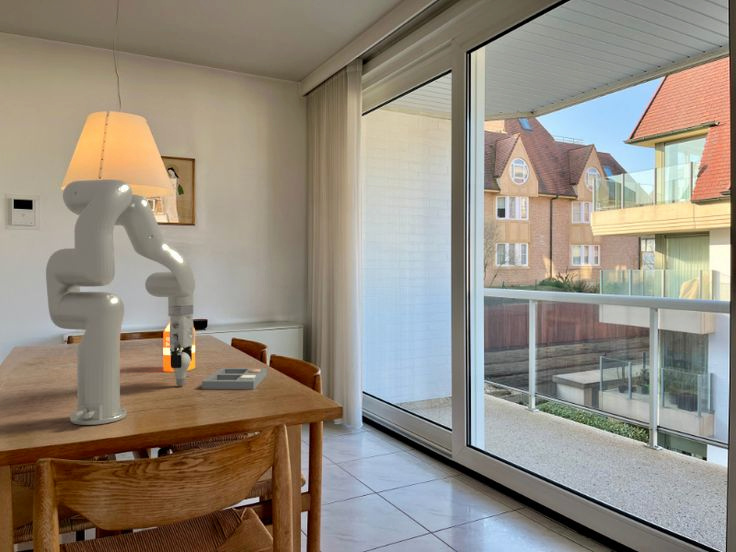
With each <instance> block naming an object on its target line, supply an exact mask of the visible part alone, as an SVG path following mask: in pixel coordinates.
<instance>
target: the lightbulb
mask: <svg viewBox="0 0 736 552" xmlns="http://www.w3.org/2000/svg"><path fill="white" fill-rule="evenodd" d="M180 355H182V367H181V368H173V370H174V372H173V373H174V376H175V377H174V378H175V379H176V381H175V383H176V385H177V386H178V387H183V386H184V385H185V384H186V383H185V382H186V378H187V371H188V370H187V369H188V368H189V366H190V363H191V359H190V356H189V355H188V354H187V353H185V352H181V353H180ZM170 363H171V361H170Z"/></svg>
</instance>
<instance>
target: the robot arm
mask: <svg viewBox="0 0 736 552" xmlns="http://www.w3.org/2000/svg"><path fill="white" fill-rule="evenodd" d="M62 200H63V202H64V205H65V206H66V207H67V209H68V211H70V212H72V213H73V214H75V215H77V216H78V218H77V219H76V221H75V225H74V236H73V237H74V248H73V247H72V248H69V247H68V248H60V249H58V250H56V251H54V252H53V253H52V254H51V255H50V256H49V258H48V261H47V263H46V268H45V279H46V292H47V305H48V313H49V317H50V320H51V322H52V323H53V324H54V325H55V326H56V327H57V328H60V329H64V330H80V331H82V330H83V331H84V333H83V336H82V337H81V339H80V340H79V342H78V345H77V351H76V357H77V359H76V361H77V363H76V365H77V366H76V367H77V368H76V370H77V371H76V372H77V374H76V375H77V378H76V379H77V380H76V381H77V382H76V383H77V387H76V389H77V390H76V391H77V397H76V398H77V405H76V407H77V410H76V411H75V412H72V413H71V414H70V415H69V421H70V422H71V423H72V424H74V425H80V426H94V425H103V424H109V423H115V422H117V421H121V420H123V419H124V418H126V417H127V412H128V411H127V409H125V408H123V407H122V408H121V367H120V366H121V351H120V350H121V346H120V345H121V334H122V333H121V331H122V326H123V321H124V317H125V304H124V302H123V300H122V299H121V298H120V297H119V296H117V295H116V294H113V293H112V292H105V291H81V287H93V288H94V287H103V286H107V285H110V284H112V282H113V280H114V278H115V271H116V265H115V264H116V263H115V262H116V261H115V249H114V229H115V228H114V227H115V226H121V227H123V228H124V230H125V232H126V234H127V236H128V239H129V241H130V244H131V245H132V247H133V250H134V252H135V253H136V254H138V255H139V256H142V257H144V258H145V259H148V260H151V261H153V262H155V263H159V264H160V265H162V266H164V267H165V268H167V269H169V271H170V272H169V271H165V272H164V271H163V272H162V271H159V272H153V273H151V274H150V275H149V276H148V277H147V278H146V279H145V283H144V286H145V290H146V291H147V293H148V294H149V295H151V296H153V297H157V298H167V301H168V302H167V304H168V305H167V306H168V308H167V309H168V311H167V315H168V317H169V319H170V320H169V322H170V351H171V352H170V355H171V368H181V367H182V355H180V353H181V352H185V353H187V354H188V355H189V356H190V359H191V361H192V344H193V343H194V328H195V326H194V318H193V316H194V291H195V288H196V282H195V281H196V279H195V276H194V273H193V271H192V268H191V265H190V263H189V261H188V260H187V258H186V256H184V255H183V254H182V253H181V252H180V251H179V250H177V248H175V247H174V246H173V245H171V244H170V243H169V242H167V240H165V238H164V237H163V234H162V231H161V229H160V227H159V224H158V221H157V219H156V216H155V214H154V212H153V210H152V207H151V204H150V203H149V201H148V199H147V198H146V197H144V196H142V195H139V194H133V190H132V187H131V185H130V184H129V183H128V182H126V181H124V180H120V179H89V180H75V181H72V182H70V183H68V184H67V185H66V186H65V188H64V189H63V192H62ZM182 348H183V349H182ZM177 349H178V350H177Z"/></svg>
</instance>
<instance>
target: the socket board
mask: <svg viewBox="0 0 736 552" xmlns="http://www.w3.org/2000/svg"><path fill="white" fill-rule="evenodd" d="M267 375H268V374H267V367H220V368H219V369H218V370H216V371H214V372H213V373H212V374H210V375H209V376H207V377H206V378H205V379H203V380H201V389H202V390H238V391H239V390H241V391H242V390H249V391H250V390H251V391H252V390H255V389H256V388H257V386H258V385H259V384H260V383H261V382H262V381H263V380H264V379H265V378H266V377H267Z"/></svg>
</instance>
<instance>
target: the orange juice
mask: <svg viewBox="0 0 736 552" xmlns="http://www.w3.org/2000/svg"><path fill="white" fill-rule="evenodd" d="M162 337H163V342H162V343H163V349H162V353H163V359H162V361H163V363H162V364H163V372H170V373H171V372H172V373H175V372H174V370H173V368H171V363H170V361H171V355H170V352H171V351H170V321H169V322H168V324H167V325H166V327H165V329H164V330H163V336H162ZM182 349H183V348H182ZM177 350H178V349H177ZM195 368H196V329H195V327H194V343H193V344H192V361H191V363H190V366H189V368H188V369H187V371H189V370H193V369H195Z"/></svg>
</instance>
